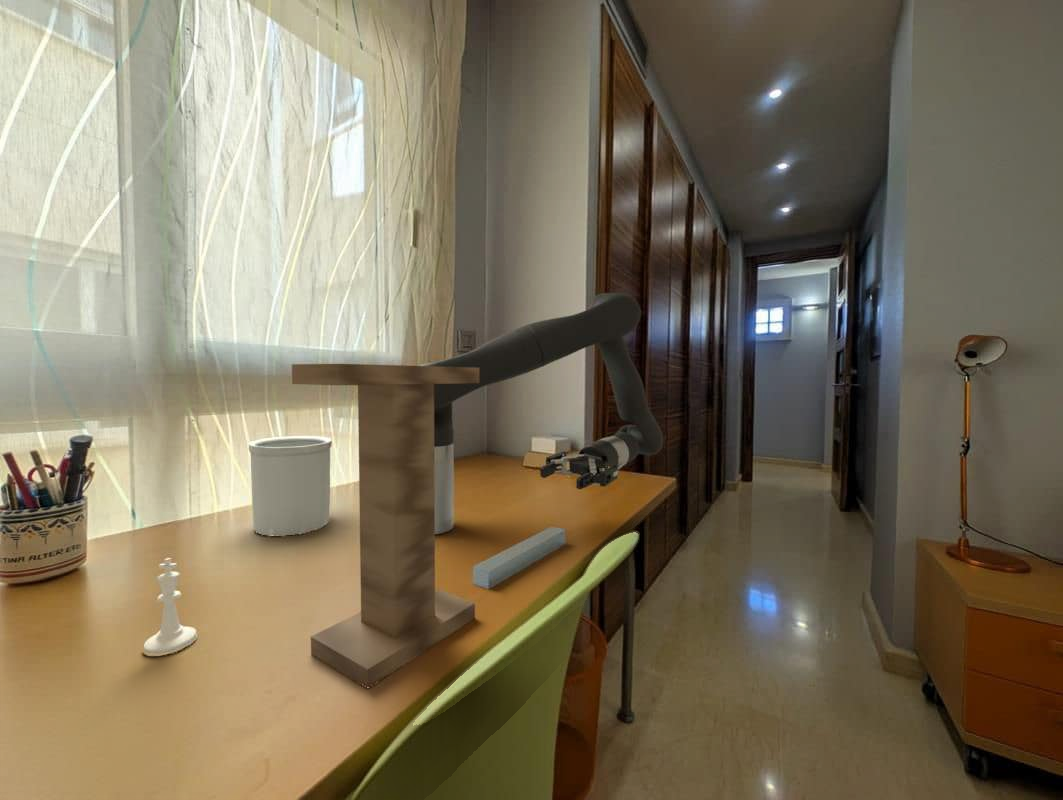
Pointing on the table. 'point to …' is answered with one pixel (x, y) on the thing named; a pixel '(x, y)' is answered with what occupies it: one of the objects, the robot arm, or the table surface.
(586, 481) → the robot arm
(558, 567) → the table surface
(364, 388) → the walnut stand
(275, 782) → the table surface
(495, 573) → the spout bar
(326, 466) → the utensil holder
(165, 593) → the chess piece
